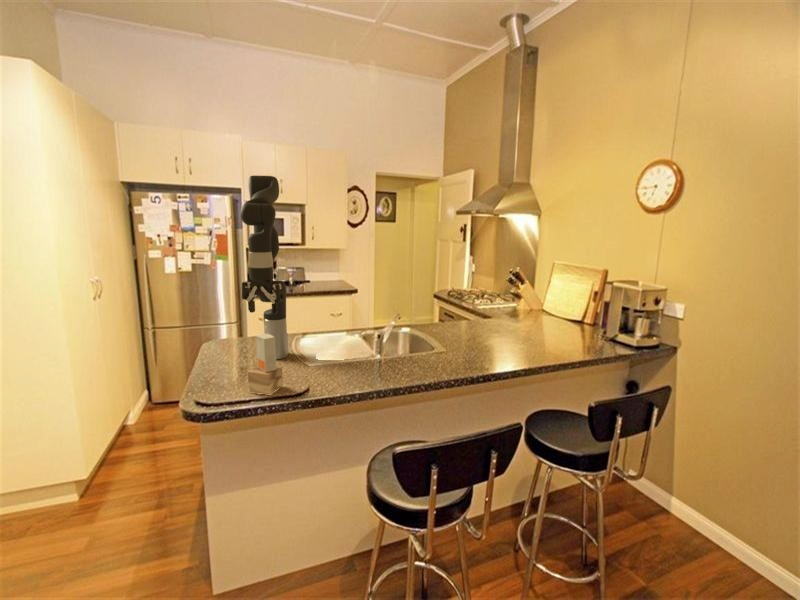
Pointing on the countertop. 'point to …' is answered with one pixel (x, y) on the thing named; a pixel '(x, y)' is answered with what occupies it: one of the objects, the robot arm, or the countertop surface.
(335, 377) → the countertop surface
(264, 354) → the skincare box
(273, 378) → the tan square block
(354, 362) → the countertop surface
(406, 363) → the countertop surface
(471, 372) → the countertop surface
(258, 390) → the block lower
